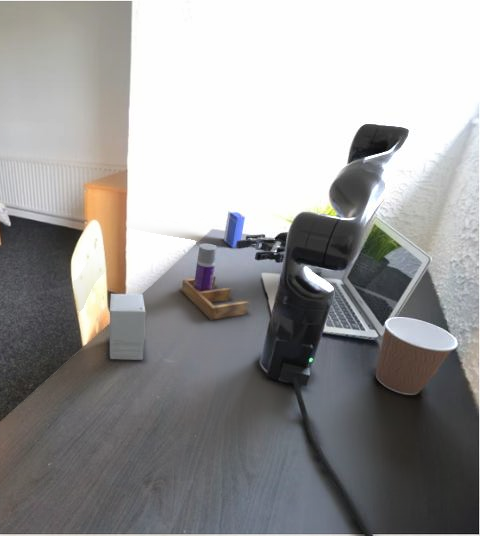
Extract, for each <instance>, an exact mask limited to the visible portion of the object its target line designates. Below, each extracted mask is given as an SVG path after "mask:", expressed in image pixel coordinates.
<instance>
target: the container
mask: <svg viewBox="0 0 480 536" xmlns="http://www.w3.org/2000/svg"><path fill="white" fill-rule="evenodd" d="M217 253H218V247H217V245H215V244H212V243H201V244H199V246H198V254H197V260H196V267H195V275H194V278H195V282H194V287H195V288H196V289H197V290H198V291H199V292H201V291H208V290H212V289H213V288H212V281H213V276H215V275H214V273H215V269H216V268H215V267H216V259H217Z"/></svg>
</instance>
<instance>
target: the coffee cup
mask: <svg viewBox="0 0 480 536" xmlns="http://www.w3.org/2000/svg"><path fill="white" fill-rule="evenodd" d="M384 327H385V328H384V333H383V336H382V341H381V346H380V349H379V350H380V351H379V355H378V358H377V364H376V368H375V377H376V379H377V381H378V382H379V383H380V384H381V385H382V386H383V387H385V388H387V389H389V390H390V391H392V392H395V393H398V394H402V395H407V396H415V395H418V394H419V393H420V392H421V390H423V389H424V388H426V385H427V384H428V383H429V382H430V380H431V379H432V378H433V377H434V376H435V375H436V374H437V372H438V371H439V370H440V368H441V366H442V365H443V363H444V362H445V361H446V359H447V358H448V356H449V355H450V354H451V353H452V352H453V350H455V349H457V348H458V343H459V342H458V340H457V339H456V337H455V336H454V335H452V333H450V332H448V331H447V330H446V329H444V328H442V327H439V326H438V325H435V324H433V323H430V322H428V321H424V320H420V319H416V318H413V317H403V316H394V317H390V318H388V319H386V320H385V321H384Z"/></svg>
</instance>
